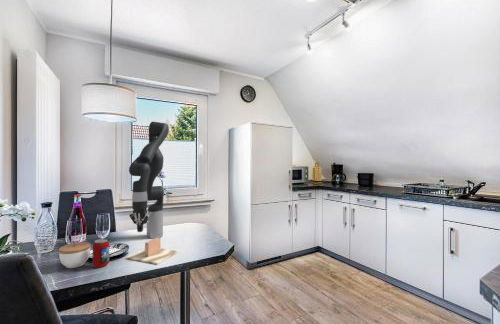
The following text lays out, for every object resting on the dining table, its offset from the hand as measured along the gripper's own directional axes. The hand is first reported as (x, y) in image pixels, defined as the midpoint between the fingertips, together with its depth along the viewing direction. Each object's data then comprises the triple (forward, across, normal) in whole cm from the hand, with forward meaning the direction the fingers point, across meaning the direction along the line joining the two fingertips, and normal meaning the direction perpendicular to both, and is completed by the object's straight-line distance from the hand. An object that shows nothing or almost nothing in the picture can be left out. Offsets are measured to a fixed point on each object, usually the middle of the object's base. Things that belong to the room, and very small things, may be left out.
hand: (140, 231), depth 131 cm
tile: (+11, -8, -1) cm, 14 cm away
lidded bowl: (+12, +19, +22) cm, 31 cm away
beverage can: (+12, +6, +18) cm, 23 cm away
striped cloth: (+12, -9, 0) cm, 15 cm away
